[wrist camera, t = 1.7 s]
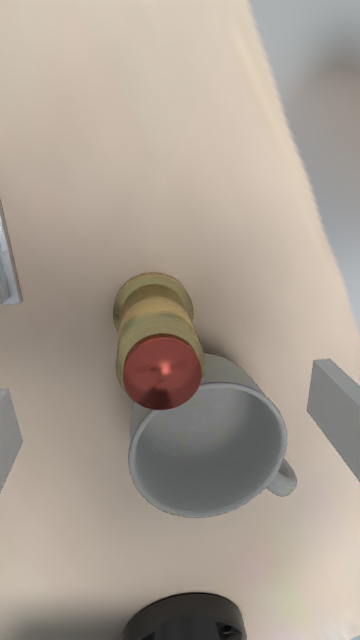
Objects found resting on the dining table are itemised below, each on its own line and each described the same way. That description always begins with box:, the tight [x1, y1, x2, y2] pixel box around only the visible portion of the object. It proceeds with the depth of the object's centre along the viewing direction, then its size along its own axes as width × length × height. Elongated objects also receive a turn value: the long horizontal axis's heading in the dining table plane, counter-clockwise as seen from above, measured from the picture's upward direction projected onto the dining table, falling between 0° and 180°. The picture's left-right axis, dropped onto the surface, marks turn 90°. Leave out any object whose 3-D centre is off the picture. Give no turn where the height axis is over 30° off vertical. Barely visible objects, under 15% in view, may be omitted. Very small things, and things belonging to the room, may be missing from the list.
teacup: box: [128, 353, 297, 518], centre depth 26 cm, size 14×11×8 cm
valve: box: [113, 273, 206, 410], centre depth 22 cm, size 6×6×10 cm
